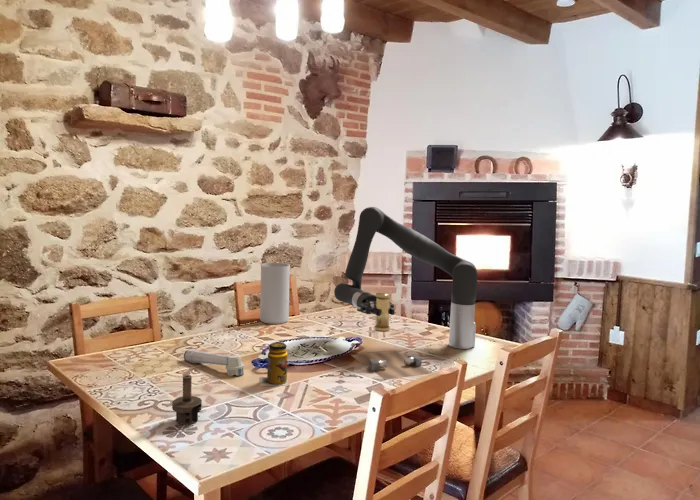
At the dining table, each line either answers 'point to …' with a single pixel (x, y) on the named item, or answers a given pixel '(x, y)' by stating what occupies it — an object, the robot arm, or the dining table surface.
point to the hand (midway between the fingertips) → (386, 312)
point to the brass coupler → (383, 312)
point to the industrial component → (187, 404)
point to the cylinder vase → (274, 293)
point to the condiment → (276, 366)
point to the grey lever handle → (216, 360)
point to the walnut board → (391, 365)
